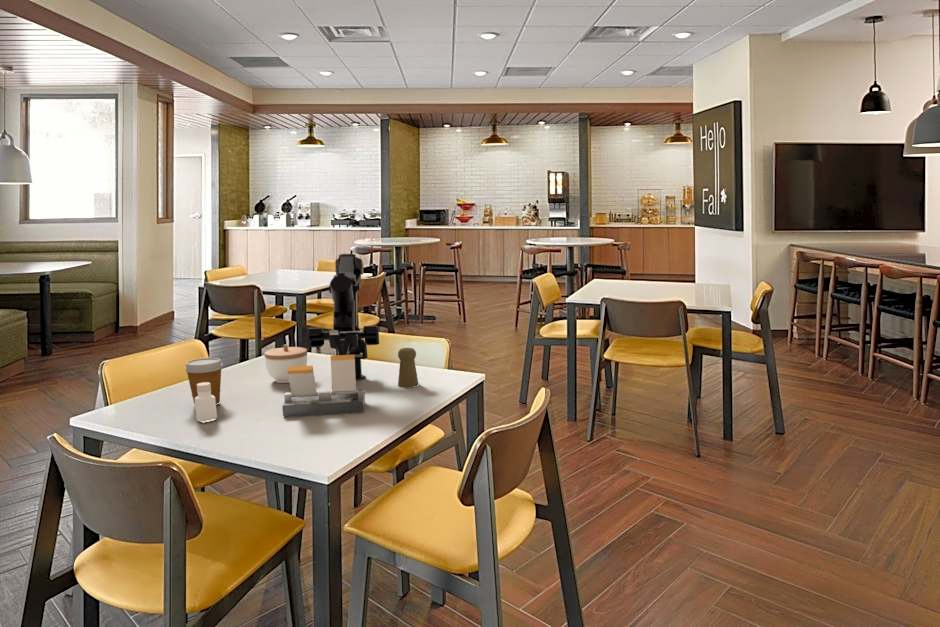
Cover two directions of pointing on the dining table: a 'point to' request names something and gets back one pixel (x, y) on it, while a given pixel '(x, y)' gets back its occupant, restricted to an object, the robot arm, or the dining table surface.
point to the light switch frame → (324, 404)
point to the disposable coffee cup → (205, 375)
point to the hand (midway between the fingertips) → (343, 362)
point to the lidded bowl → (284, 361)
